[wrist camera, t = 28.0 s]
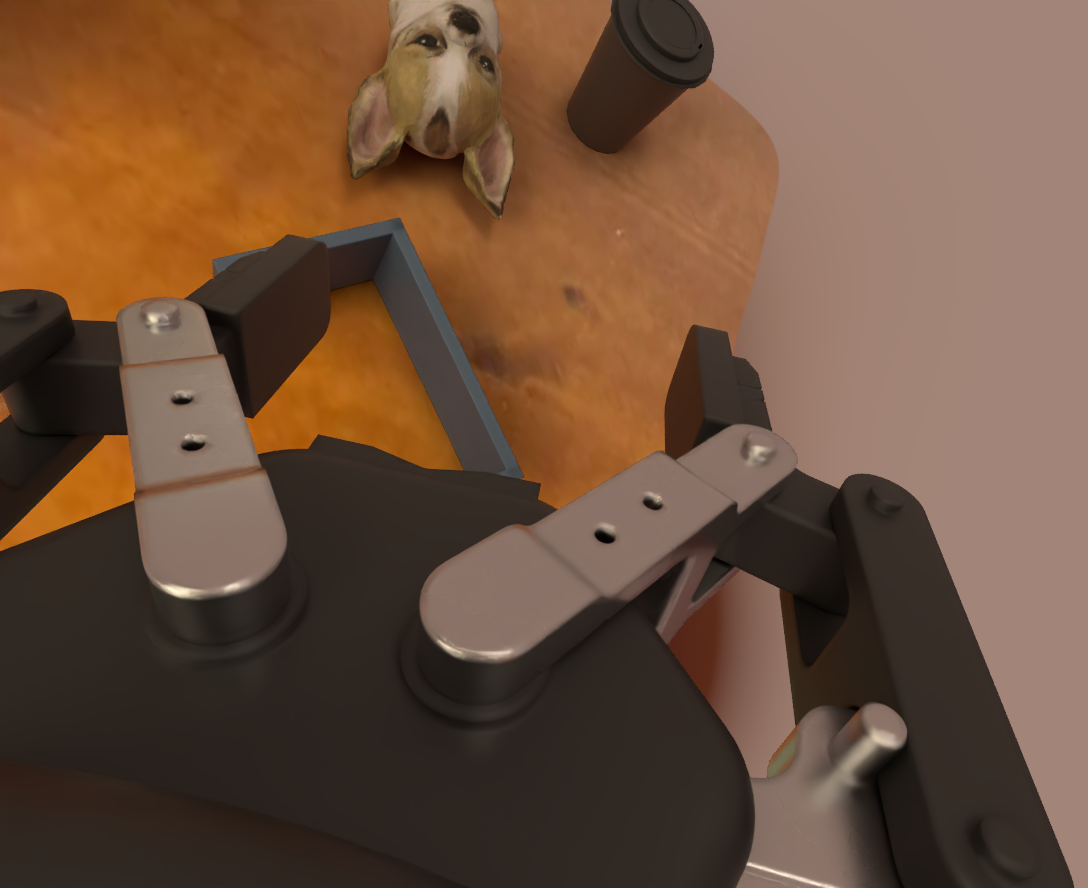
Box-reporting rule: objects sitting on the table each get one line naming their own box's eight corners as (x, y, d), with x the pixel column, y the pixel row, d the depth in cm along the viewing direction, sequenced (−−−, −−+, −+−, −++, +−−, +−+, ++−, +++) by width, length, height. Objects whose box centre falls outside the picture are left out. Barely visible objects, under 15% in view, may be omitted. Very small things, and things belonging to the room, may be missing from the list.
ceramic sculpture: (557, -43, 40) (547, 173, 37) (506, 56, 48) (494, 241, 45) (384, -124, 36) (355, 111, 33) (359, -1, 44) (334, 199, 41)
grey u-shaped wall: (336, 567, 35) (353, 559, 30) (213, 307, 35) (211, 258, 31) (488, 493, 40) (524, 476, 35) (379, 264, 40) (399, 217, 35)
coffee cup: (642, 182, 51) (727, 93, 43) (549, 149, 48) (621, 46, 39) (640, 98, 53) (721, -4, 45) (551, 61, 50) (620, -56, 41)
